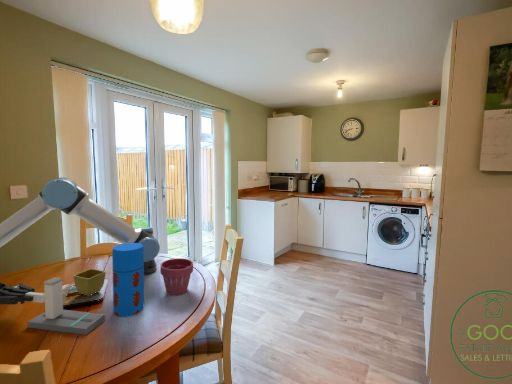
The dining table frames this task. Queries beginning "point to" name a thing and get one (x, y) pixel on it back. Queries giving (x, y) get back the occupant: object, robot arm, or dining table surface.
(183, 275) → the plant pot
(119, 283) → the thermos
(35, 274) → the dining table surface
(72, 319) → the console
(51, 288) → the fader tab
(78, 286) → the flower pot
